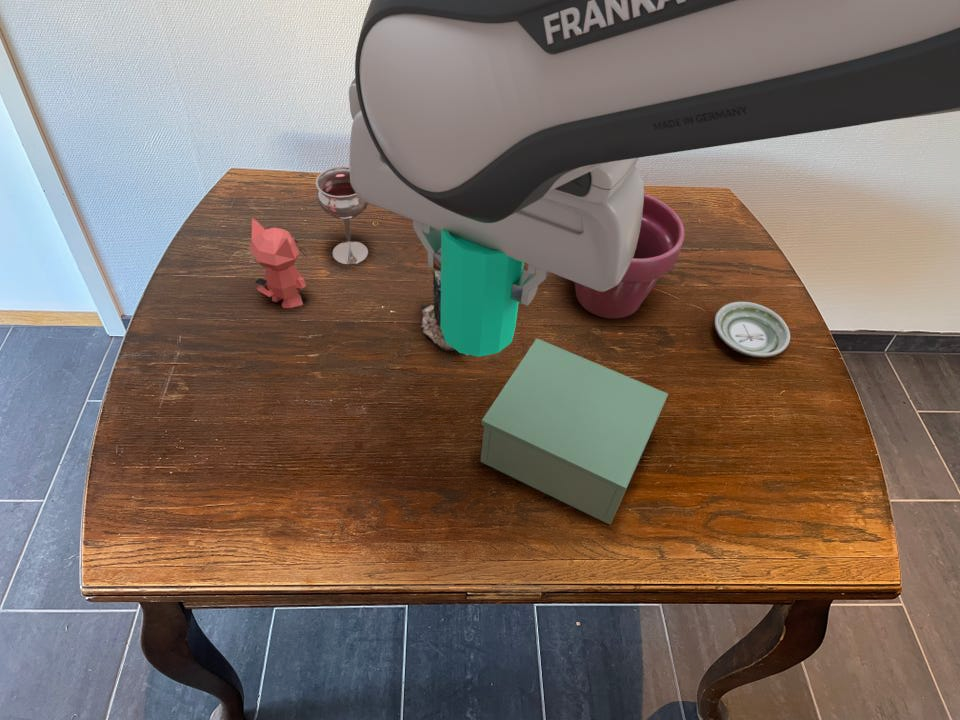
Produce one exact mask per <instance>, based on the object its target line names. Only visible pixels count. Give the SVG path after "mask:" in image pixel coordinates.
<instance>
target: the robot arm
mask: <svg viewBox="0 0 960 720" xmlns="http://www.w3.org/2000/svg"><path fill="white" fill-rule="evenodd" d="M348 100H349V110H350V116H351V118H352V125H351V129H350V139H349V167H350V183H351V186H352V188H353V189H354V191H355V192H356V194H357V195H358V197H359V198H360V199H361V200H362V201H364V202H367V203H368V205H372V206H374V207H377V208H380V209H382V210H385V211H388V212H391V213H393V214H395V215H399V216H401V217H403V218H406V219H409V220H412V229H413V230H414V232H415V234H416V236H417V237H418V239H419V240H420V241H419V242H420V243H421V244H422V245H423V248H424V249H425V251H427V266H428V267H429V268H431V269H437V270H439V271H441V231H443V229H444V230H447V231H449V233H450V234H451V235H454V236H456V237H459V238H462V239H464V240H467V241H469V242H472V243H475V244H477V245H480V246H483V247H485V248H488V249H491V250H493V251H501V252H504V253H505V255H506V256H508V257H511V258H513V259H516V260H519V261H521V262H524V264H527V270H526V269H524V268H523V269H522V272H521V276H520V278H519V279H518V280H516V281H515V282H514V283H512V287H511V296H510V298H511V299H512V300H515V301H517V302H519V304H522V305H524V306H526V307H527V306H529V305H530V304H531V303H532V301H533V300H534V298H535V296H536V294H537V292H538V287H539V285H540V284H542V283H543V282H544V281H546V279H548V276H549V275H550V274H553V275H556V276H558V277H561V278H563V279H566V280H569V281H570V282H571V281H572V282H574V283H575V282H576V283H579V284H582V285H584V286H587V287H589V288H592V289H594V290H597V291H601V292H604V291H607V290H609V289H611V288H613V287H615V286H617V285H618V284H619V283H620V281H621V280H622V278H623V277H624V275H625V273H626V272H627V270H628V268H629V266H630V264H631V261H632V259H633V256H634V253H635V250H636V246H637V242H638V238H639V232H640V227H641V221H642V213H643V204H644V194H645V187H644V181H643V178H642V174H641V172H640V170H639V168H638V167H637V166H636V165H637V162H638V160H639V158H645V157H646V158H647V157H654V156H659V155H667V154H672V153H673V154H674V153H681V152H687V151H692V150H693V151H695V150H702V149H708V148H714V147H721V146H728V145H735V144H742V143H749V142H755V141H762V140H768V139H770V140H771V139H776V138H783V137H790V136H798V135H803V134H810V133H817V132H823V131H829V130H837V129H843V128H850V127H855V126H856V127H857V126H861V125H869V124H875V123H880V122H887V121H894V120H895V121H897V120H902V119H908V118H909V119H910V118H911V119H912V118H918V117H925V116H932V115H940V114H947V113H954V112H955V113H956V112H960V0H370V3H369V4H368V8H367V10H366V13H365V16H364V20H363V23H362V26H361V29H360V33H359V36H358V42H357V45H356V52H355V61H354V79H353V80H352V81H351V83H350V85H349V87H348Z"/></svg>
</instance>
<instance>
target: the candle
mask: <svg viewBox="0 0 960 720" xmlns="http://www.w3.org/2000/svg"><path fill="white" fill-rule="evenodd" d="M524 266H525V263H524V262H521V261H519V260H516V259H513V258H511V257H508V256H506V255H505V253H504V252H501V251H493V250H491V249H488V248H485V247H483V246H480V245H477V244H475V243H472V242H469V241H467V240H464V239H462V238H459V237H456V236H454V235H451V234H450V233H449V231H447V230H444V229H443V231H441V325H440V328H441V331H442V334H443V336H444V339H445V342H446V343H447V344H449V345H450V346H451V347H453V348H454V349H455V350H454V351H457V352H458V353H459V354H463V355H465V354H468V355H467V356H474V357H478V358H480V357H485V356H490V355H495V354H499V353H500V352H502V351H503V350H504V349H506V348H507V347H508V346H509V345H511V344H512V343H513V339H514V336H515V332H516V326H517V319H518V311H519V304H520V303H519V302H517V301H515V300H512V299H511V298H510V296H511V287H512V283H514V282H515V281H516V280H518V279H519V278H520V276H521V272H522V269H523V270H524Z"/></svg>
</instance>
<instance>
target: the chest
mask: <svg viewBox="0 0 960 720" xmlns="http://www.w3.org/2000/svg"><path fill="white" fill-rule="evenodd" d="M663 407H664V406H663ZM663 407H662V409H663ZM659 416H660V415H659ZM659 416H658V418H659ZM656 424H657V422H656V423H655V425H654V427H655V426H656ZM652 433H653V431H652V432H651V434H650V436H651V435H652ZM649 439H650V438H649ZM649 439H648V441H649ZM648 441H647V443H646V445H647V444H648ZM645 449H646V447H645V448H644V450H645ZM644 450H643V452H642V454H641V456H642V455H643V453H644ZM480 453H481V454H480V461H479V462H480V463H482V464H485V465H486V466H489V467H490V468H491V469H492V468H493V469H494V470H496V471H499V472H501V473H502V474H505V475H507V476H509V477H511V478H513V479H515V480H516V481H519V482H521V483H523V484H525V485H527V486H529V487H532V488H533V489H536V490H538V491H539V492H542V493H544V494H546V495H548V496H550V497H552V498H554V499H556V500H558V501H560V502H563V504H566V505H568V506H571V507H572V508H574V509H577V510H579V511H581V512H583V513H585V514H587V515H589V516H591V517H593V518H595V519H597V520H599V521H602V522H604V523H605V524H608V525H609V526H611V525H612V523H613V520H614V518H615V516H616V514H617V511H618V509H619V507H620V505H621V503H622V500H623V498H624V496H625V493H626V491H627V489H628V486H629V485H628V486H627V488H626V490H625V492H623V491H621V490H619V489H616V488H614V487H612V486H610V485H608V484H606V483H604V482H602V481H599V480H597V479H595V478H593V477H591V476H589V475H587V474H585V473H582V472H580V471H578V470H576V469H574V468H572V467H570V466H568V465H565V464H563V463H561V462H559V461H557V460H555V459H553V458H551V457H548V456H546V455H544V454H542V453H540V452H538V451H536V450H534V449H531V448H529V447H527V446H525V445H523V444H521V443H519V442H517V441H514V440H512V439H510V438H508V437H506V436H504V435H502V434H500V433H497V432H495V431H493V430H491V429H489V428H487V427H485V426H483V433H482V442H481V452H480ZM640 459H641V458H640ZM640 459H639V461H638V463H637V465H638V464H639V462H640ZM636 469H637V467H636V468H635V470H634V472H633V474H634V473H635V471H636ZM632 478H633V476H632V477H631V479H630V481H629V483H630V482H631V480H632Z"/></svg>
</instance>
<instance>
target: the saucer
mask: <svg viewBox="0 0 960 720" xmlns="http://www.w3.org/2000/svg"><path fill="white" fill-rule="evenodd" d="M714 328H715V331H716V334H717V335H718V337H719V338H720V340H721V341H723V342H724V344H726V345H727V346H728V347H729V348H731V349H732V350H734V351H736V352H738V353H740V354H742V355H745V356H749V357H753V358H770V357H774V356H777V355H780V354H781V353H782V352H784V351H785V350H786V349H787V347H788V346H789V344H790V341H791V331H790V328H789V327H788V325H787V323H786V322H785V320H784V319H783V318H782V317H781V316H780V315H779V314H778V313H776V312H775V311H774V310H772V309H770V308H768V307H766V306H764V305H762V304H759V303H756V302H751V301H734V302H730V303H726V304H724V305H722V306H721V308H719V309H718V310H717V312H716V313H715V316H714Z"/></svg>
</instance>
